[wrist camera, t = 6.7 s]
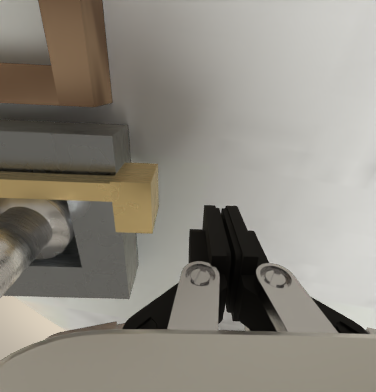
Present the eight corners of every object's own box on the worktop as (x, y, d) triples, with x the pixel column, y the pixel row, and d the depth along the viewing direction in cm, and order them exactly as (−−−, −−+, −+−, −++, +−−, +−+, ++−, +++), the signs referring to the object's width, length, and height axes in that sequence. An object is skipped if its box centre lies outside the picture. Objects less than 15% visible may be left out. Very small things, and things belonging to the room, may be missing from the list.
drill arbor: (93, 232, 21) (31, 331, 13) (29, 230, 21) (-78, 328, 12) (83, 172, 18) (-5, 248, 10) (9, 169, 18) (-145, 243, 10)
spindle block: (138, 265, 23) (129, 298, 19) (0, 261, 23) (-35, 294, 19) (128, 125, 17) (111, 136, 13) (-64, 116, 16) (-134, 125, 13)
